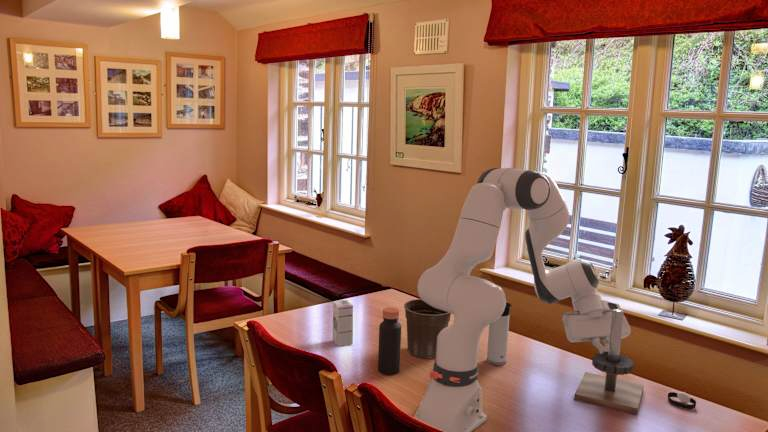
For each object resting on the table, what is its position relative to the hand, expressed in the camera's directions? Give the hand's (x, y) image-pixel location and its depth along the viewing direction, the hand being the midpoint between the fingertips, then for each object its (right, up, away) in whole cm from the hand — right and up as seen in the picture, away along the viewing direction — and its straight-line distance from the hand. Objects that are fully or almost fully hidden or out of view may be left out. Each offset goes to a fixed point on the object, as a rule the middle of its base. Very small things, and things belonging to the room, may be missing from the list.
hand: (606, 353), depth 188 cm
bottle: (-64, -8, +10) cm, 65 cm away
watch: (+20, -14, -5) cm, 25 cm away
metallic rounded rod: (+1, -10, -2) cm, 10 cm away
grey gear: (+1, -3, -3) cm, 4 cm away
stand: (+1, -12, -1) cm, 12 cm away
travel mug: (-29, -7, +20) cm, 36 cm away
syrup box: (-80, -3, +32) cm, 86 cm away
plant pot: (-51, -5, +26) cm, 58 cm away
